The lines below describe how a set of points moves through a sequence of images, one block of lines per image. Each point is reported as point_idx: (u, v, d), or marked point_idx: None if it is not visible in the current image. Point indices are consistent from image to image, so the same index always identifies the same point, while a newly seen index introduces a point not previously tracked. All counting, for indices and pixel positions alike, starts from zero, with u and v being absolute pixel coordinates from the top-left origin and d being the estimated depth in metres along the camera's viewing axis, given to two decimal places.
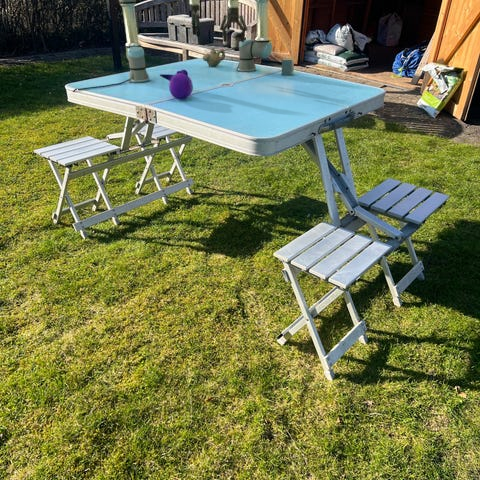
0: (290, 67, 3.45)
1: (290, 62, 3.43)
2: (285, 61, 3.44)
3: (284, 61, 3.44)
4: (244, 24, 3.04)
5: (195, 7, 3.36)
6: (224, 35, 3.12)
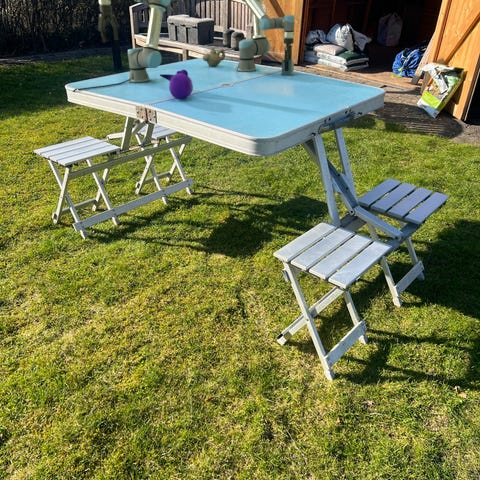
0: (290, 67, 3.45)
1: (290, 62, 3.43)
2: None
3: None
4: None
5: (102, 7, 2.81)
6: None
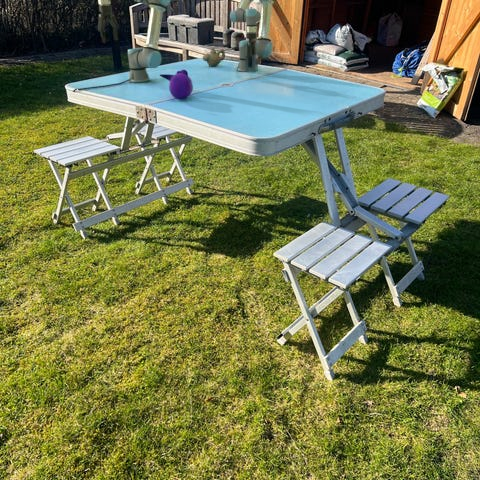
0: (254, 63, 3.30)
1: (254, 58, 3.28)
2: None
3: None
4: None
5: (101, 8, 2.81)
6: (251, 61, 3.30)
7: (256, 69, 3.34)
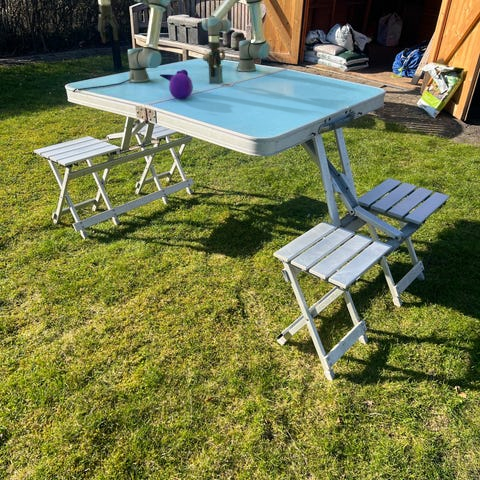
0: (217, 75, 3.22)
1: (217, 69, 3.21)
2: None
3: None
4: (219, 57, 3.27)
5: (101, 8, 2.81)
6: (214, 71, 3.20)
7: (220, 81, 3.27)
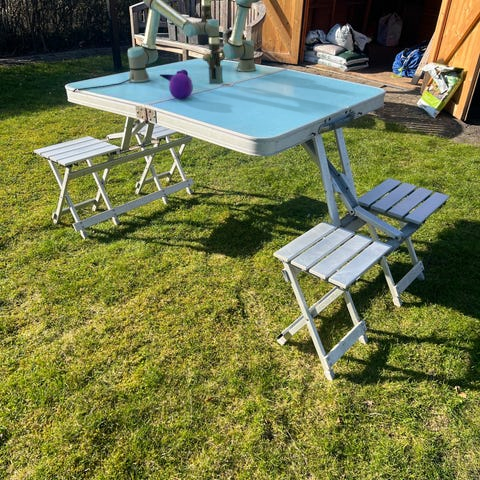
0: (217, 75, 3.22)
1: (217, 69, 3.21)
2: None
3: None
4: None
5: (212, 46, 3.14)
6: None
7: (220, 81, 3.27)
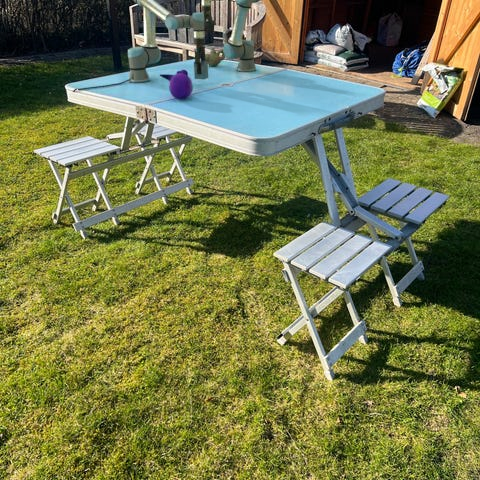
0: (203, 70, 3.14)
1: (202, 65, 3.12)
2: None
3: None
4: (211, 19, 3.73)
5: (197, 41, 3.05)
6: (205, 30, 3.64)
7: (206, 76, 3.19)
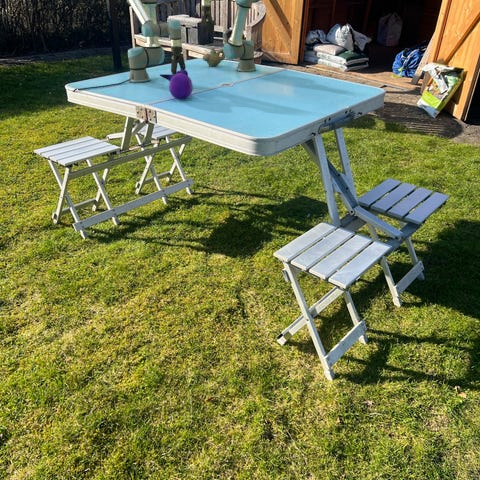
0: None
1: None
2: None
3: None
4: (211, 19, 3.73)
5: (173, 49, 2.97)
6: (205, 30, 3.64)
7: None
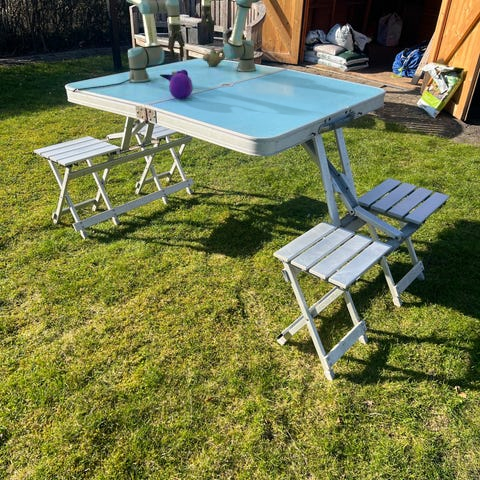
0: None
1: None
2: None
3: (174, 74, 3.06)
4: (211, 19, 3.73)
5: (172, 27, 2.90)
6: (205, 30, 3.64)
7: None
